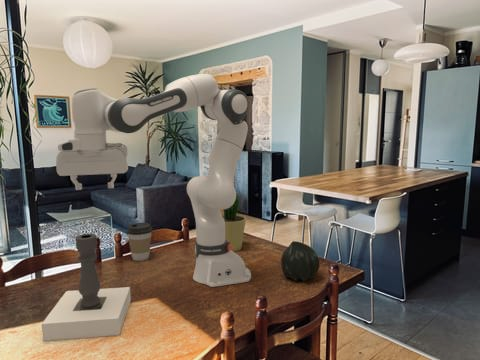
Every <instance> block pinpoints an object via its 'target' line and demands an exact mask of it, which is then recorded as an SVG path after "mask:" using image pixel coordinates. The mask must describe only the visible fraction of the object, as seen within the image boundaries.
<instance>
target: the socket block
mask: <svg viewBox="0 0 480 360" xmlns="http://www.w3.org/2000/svg"><path fill="white" fill-rule="evenodd" d="M97 296H98V297H99V298H100V300H101V303H102V308H101V309H97V310H83V311H80V306H81V305H80V302H81V301H82V299H83V297H82V295H81V294H80V293H79V290H77V289H76V290H66V291H65V293H63V295H62V296H61V298H60V299H59V300H58V301H57V303H56V304H55V306H54V307H52V310H51V311H50V312H49V314H48V315H47V316H46V318H45V319H44V320H42V321H43V322H42V323H41V330H42V331H41V333H42V341H43V342H48V341H49V342H50V341H61V340H62V341H64V340H75V339H86V338H99V337H112V336H120V334H121V331H122V328H123V325H124V322H125V319H126V316H127V313H128V311H129V308H130V304H131V287H130V286H127V287H125V286H124V287H110V288H109V287H108V288H100V290H99V292H98V295H97Z"/></svg>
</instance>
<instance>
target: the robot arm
mask: <svg viewBox="0 0 480 360" xmlns="http://www.w3.org/2000/svg"><path fill="white" fill-rule="evenodd" d="M249 103H250V101H249V98H248V95H247V94H246V93H245V92H244V91H242V90H239V89H233V88H232V89H220V88H219V84H218V82H217V80H216V79H215V77H214V76H213V75H211V74H209V73H197V74H193V75H192V74H191V75H188V76H184V77H180V78H178V79H176V80H173V81H172V82H170V83H168V84H167V85H166V86H165V88H164V91H163V92H161V93H158V94H154V95H151V96H148V97H145V98H134V97H121V98H119V99H116V98H114V97H112V96H109V95H107V94H106V93H104V92H103V91H102V90H100V89H99V88H87V89H81V90H78V91H76V92H75V93H74V94H73V96H72V100H71V112H72V113H71V115H72V121H73V123H74V131H73V132H74V133H73V136H74V138H72V139H69V140H67V141H64V142H62V143H59V144H58V145H57V149H58V151H59V152H58V153H57V156H56V162H55V163H56V166H55V167H56V173H57V175H58V176H60V177H66V176H67V177H68V176H70V181H71V182H72V184H74V185H75V186H74V187H75V188H74V189H75V190H76V191H79V190H80V191H81V190H83V184H82V183H80V182H79V181H78V180H77V179H78V176H88V175H90V176H92V175H110V177H111V178H112V179H111V181H109V182H107V189H114V188H115V186H114V185H115V184H114V182H115V181H116V178H117V177H118V174H125V173H126V172H128V170H129V166H128V159H127V157H128V147H127V146H126V145H125V144H123V143H121V142H117V143H114V142H110V143H109V142H107V134H106V133H107V130H109V131H111V132H114V133H115V132H116V133H117V132H119V133H124V134H133V133H136V132H138V131H139V130H141V129H142V128H143V127H144V126H145V125H146V124H147V123H148V122H149V121H150V120H152V119H155V118H157V117H160V116H163V115H166V114H168V113H169V114H170V113H171V112H175V113H182V112H186V111H190V110H194V109H196V108H197V109H198V108H200V110H201V112H202V113H203V116H205V118H207V119H209V120H211V121H219V129H218V130H219V131H218V132H217V134H216V137H215V138H214V139H215V140H214V143H213V145H212V147H211V150H210V152H209V155H208V158H207V160H208V163H209V165H208V166H209V168H208V175H199V176H198V175H197V176H194V177H192V178H191V179H190V180H189V181H188V183H187V185H186V194H187V195H188V197H189V199H190V202H191V206H192V210H193V211H192V212H193V214H194V219H195V230H196V231H195V236H196V241H195V245H194V249H195V251H194V254H195V257H196V259H195V265H194V266H195V267H194V272H193V275H192V279H193V280H194V281H195V282H196V283H199V284H202V285H207V286H209V287H212V288H214V287H221V286H222V287H223V286H228V285H233V284H234V285H235V284H241V283H248V282H250V281H251V279H252V274H251V270H250V269H249V268H248V267H247V266H246V265H245V261H244V259H243V258H242V257H241V256H240V255H239V254H237V253H236V252H235V251H232V249H233V246H232V245H231V244H230V242H229V241H228V240H227V241H226V240H225V220H224V218H223V217H222V215H223V214H222V213H221V212H222V211H221V210H223V209H228V208H230V207H231V206H232V205H233V204H234V202H235V200H236V194H237V191H236V190H237V189H236V188H235V172H236V170H237V169H236V168H237V166H238V163H239V160H240V157H241V155H242V152H243V150H244V146H245V144H246V140H247V135H248V130H249V126H248V124H247V122H246V121H245V120H246V119H247V118H248V111H249V108H250V107H249V106H250V104H249Z"/></svg>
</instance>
